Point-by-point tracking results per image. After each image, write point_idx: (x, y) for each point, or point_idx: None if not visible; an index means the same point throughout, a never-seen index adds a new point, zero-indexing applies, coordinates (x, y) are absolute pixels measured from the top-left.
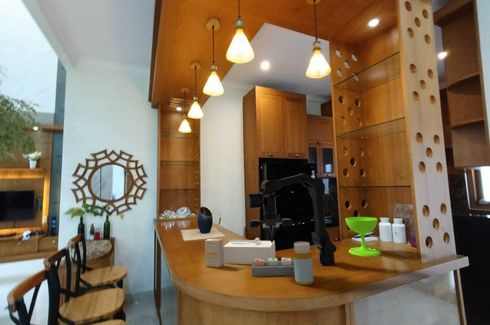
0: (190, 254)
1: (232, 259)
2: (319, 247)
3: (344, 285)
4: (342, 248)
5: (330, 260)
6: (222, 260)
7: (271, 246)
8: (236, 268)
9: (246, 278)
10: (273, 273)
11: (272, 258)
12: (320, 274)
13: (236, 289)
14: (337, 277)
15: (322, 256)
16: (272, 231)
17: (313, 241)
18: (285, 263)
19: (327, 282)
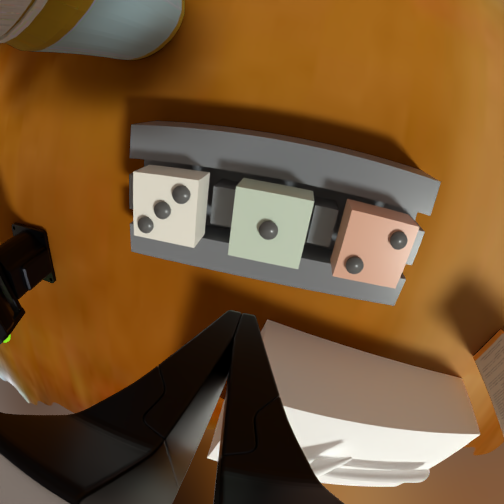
0: (486, 441)
1: (439, 385)
2: (15, 311)
3: None
4: (26, 360)
5: (12, 237)
6: (490, 364)
7: None
8: (450, 311)
9: (452, 147)
10: (290, 137)
11: (267, 255)
12: (60, 125)
13: (497, 33)
14: (25, 91)
15: (21, 258)
16: (160, 437)
17: (6, 327)
18: (184, 171)
19: None
